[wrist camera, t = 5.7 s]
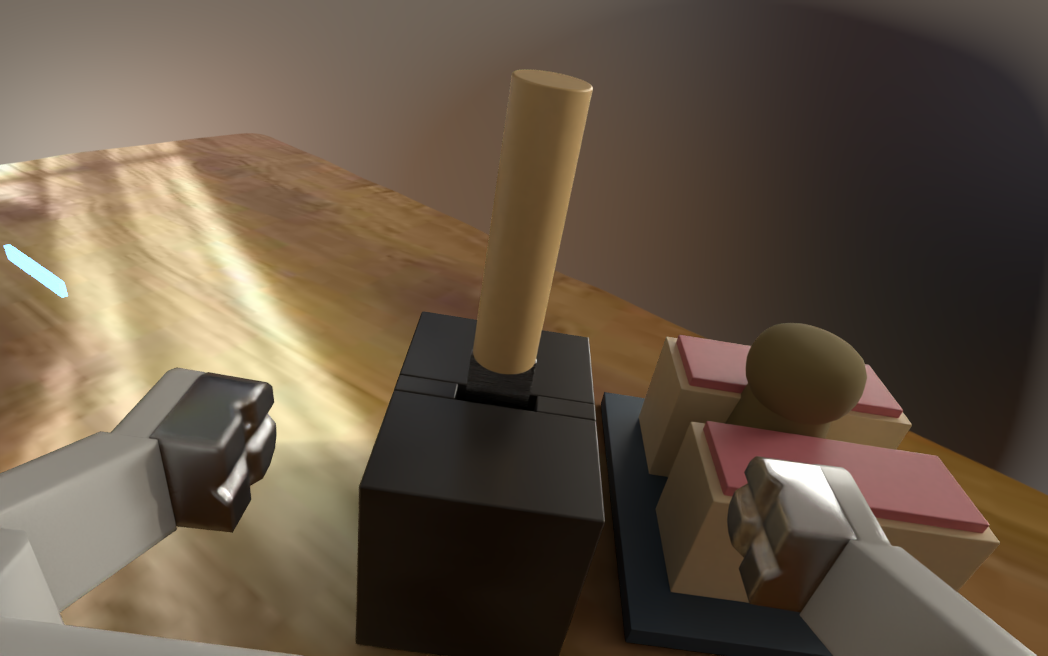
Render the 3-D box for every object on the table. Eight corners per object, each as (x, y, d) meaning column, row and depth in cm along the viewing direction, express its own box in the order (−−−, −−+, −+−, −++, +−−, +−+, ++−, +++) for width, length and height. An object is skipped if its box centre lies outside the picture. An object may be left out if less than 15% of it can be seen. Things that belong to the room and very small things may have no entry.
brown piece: (661, 497, 33) (730, 329, 27) (714, 449, 37) (783, 294, 31) (763, 572, 30) (865, 400, 24) (809, 511, 34) (906, 351, 28)
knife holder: (355, 644, 24) (358, 486, 19) (410, 449, 33) (422, 310, 29) (554, 670, 24) (606, 522, 20) (554, 471, 34) (589, 337, 29)
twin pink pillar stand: (625, 642, 26) (676, 526, 22) (600, 403, 39) (629, 305, 36) (981, 690, 27) (1093, 586, 23) (837, 440, 40) (891, 347, 36)
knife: (441, 561, 28) (507, 78, 17) (448, 519, 30) (512, 64, 19) (495, 568, 28) (597, 94, 17) (499, 526, 30) (592, 79, 19)
